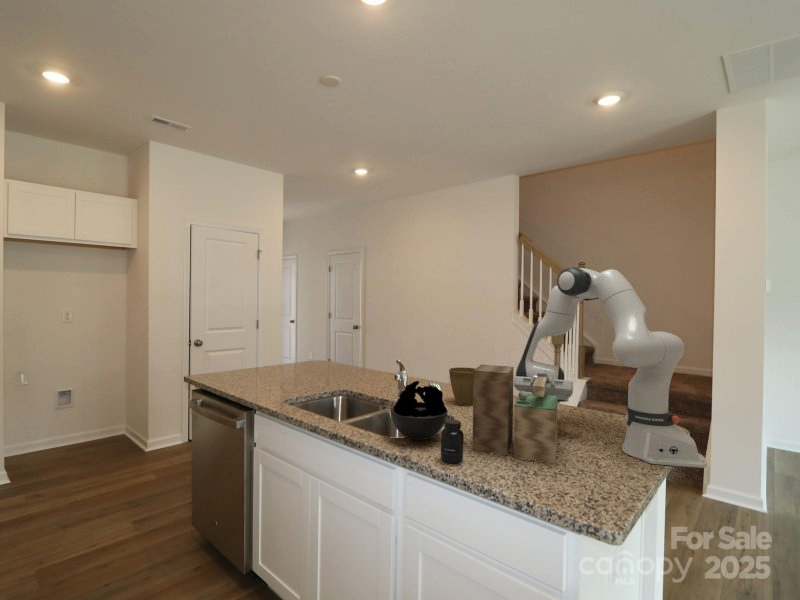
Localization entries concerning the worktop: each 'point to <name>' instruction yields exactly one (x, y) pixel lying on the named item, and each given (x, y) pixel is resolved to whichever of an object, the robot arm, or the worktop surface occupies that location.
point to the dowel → (540, 385)
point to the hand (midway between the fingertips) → (542, 378)
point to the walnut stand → (493, 409)
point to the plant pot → (462, 385)
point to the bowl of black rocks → (419, 412)
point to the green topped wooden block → (535, 427)
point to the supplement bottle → (452, 442)
